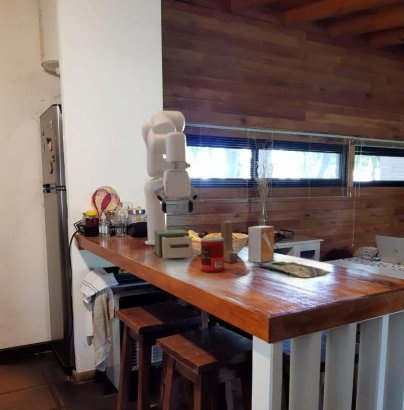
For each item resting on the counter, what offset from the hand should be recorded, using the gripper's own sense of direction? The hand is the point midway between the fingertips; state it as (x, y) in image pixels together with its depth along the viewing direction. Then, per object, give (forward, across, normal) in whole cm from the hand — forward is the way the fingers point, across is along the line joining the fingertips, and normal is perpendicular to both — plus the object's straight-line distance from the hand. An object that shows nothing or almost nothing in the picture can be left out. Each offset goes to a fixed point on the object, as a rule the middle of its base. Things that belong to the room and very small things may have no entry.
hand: (177, 212), depth 159 cm
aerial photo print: (+19, -34, +29) cm, 48 cm away
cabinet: (+18, 0, -18) cm, 26 cm away
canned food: (+19, -8, +22) cm, 30 cm away
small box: (+19, -30, +10) cm, 37 cm away
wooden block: (+19, -18, +8) cm, 27 cm away
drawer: (+18, 0, -6) cm, 19 cm away
